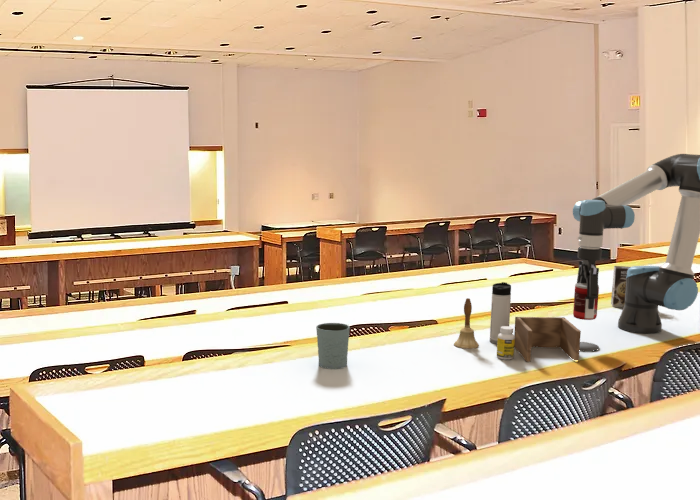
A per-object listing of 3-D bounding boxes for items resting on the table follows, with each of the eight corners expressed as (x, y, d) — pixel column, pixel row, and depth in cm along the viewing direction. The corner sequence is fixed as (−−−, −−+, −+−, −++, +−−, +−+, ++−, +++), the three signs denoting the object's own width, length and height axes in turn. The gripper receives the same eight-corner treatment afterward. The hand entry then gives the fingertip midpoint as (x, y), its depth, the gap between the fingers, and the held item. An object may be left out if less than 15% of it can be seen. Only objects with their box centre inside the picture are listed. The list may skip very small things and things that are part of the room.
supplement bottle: (503, 360, 272) (505, 330, 270) (493, 356, 276) (494, 326, 275) (517, 358, 274) (519, 328, 273) (506, 354, 279) (508, 324, 277)
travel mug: (510, 340, 296) (513, 283, 293) (505, 345, 290) (508, 286, 287) (492, 338, 298) (495, 281, 295) (487, 342, 292) (490, 284, 289)
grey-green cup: (337, 371, 256) (338, 332, 254) (309, 365, 262) (309, 327, 260) (355, 363, 265) (356, 325, 263) (327, 358, 270) (328, 320, 268)
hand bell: (478, 349, 284) (480, 302, 281) (452, 347, 285) (454, 300, 283) (479, 343, 292) (481, 296, 289) (454, 341, 293) (456, 295, 291)
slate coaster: (593, 343, 294) (593, 341, 294) (602, 351, 284) (603, 350, 284) (564, 343, 294) (564, 341, 294) (572, 351, 284) (572, 349, 284)
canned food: (594, 315, 291) (596, 283, 289) (598, 320, 283) (601, 287, 281) (571, 314, 292) (573, 281, 290) (574, 319, 284) (577, 286, 282)
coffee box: (612, 307, 351) (615, 268, 349) (610, 303, 358) (613, 265, 355) (636, 308, 350) (639, 269, 347) (633, 305, 356) (636, 266, 354)
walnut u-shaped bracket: (562, 346, 290) (564, 317, 288) (578, 362, 272) (580, 331, 270) (513, 346, 289) (515, 316, 287) (526, 361, 271) (528, 330, 269)
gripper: (569, 242, 294) (565, 307, 297) (588, 252, 273) (583, 322, 277) (591, 242, 294) (586, 308, 298) (611, 252, 274) (606, 322, 277)
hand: (585, 315), depth 287 cm, fingers closed on canned food, 8 cm apart
